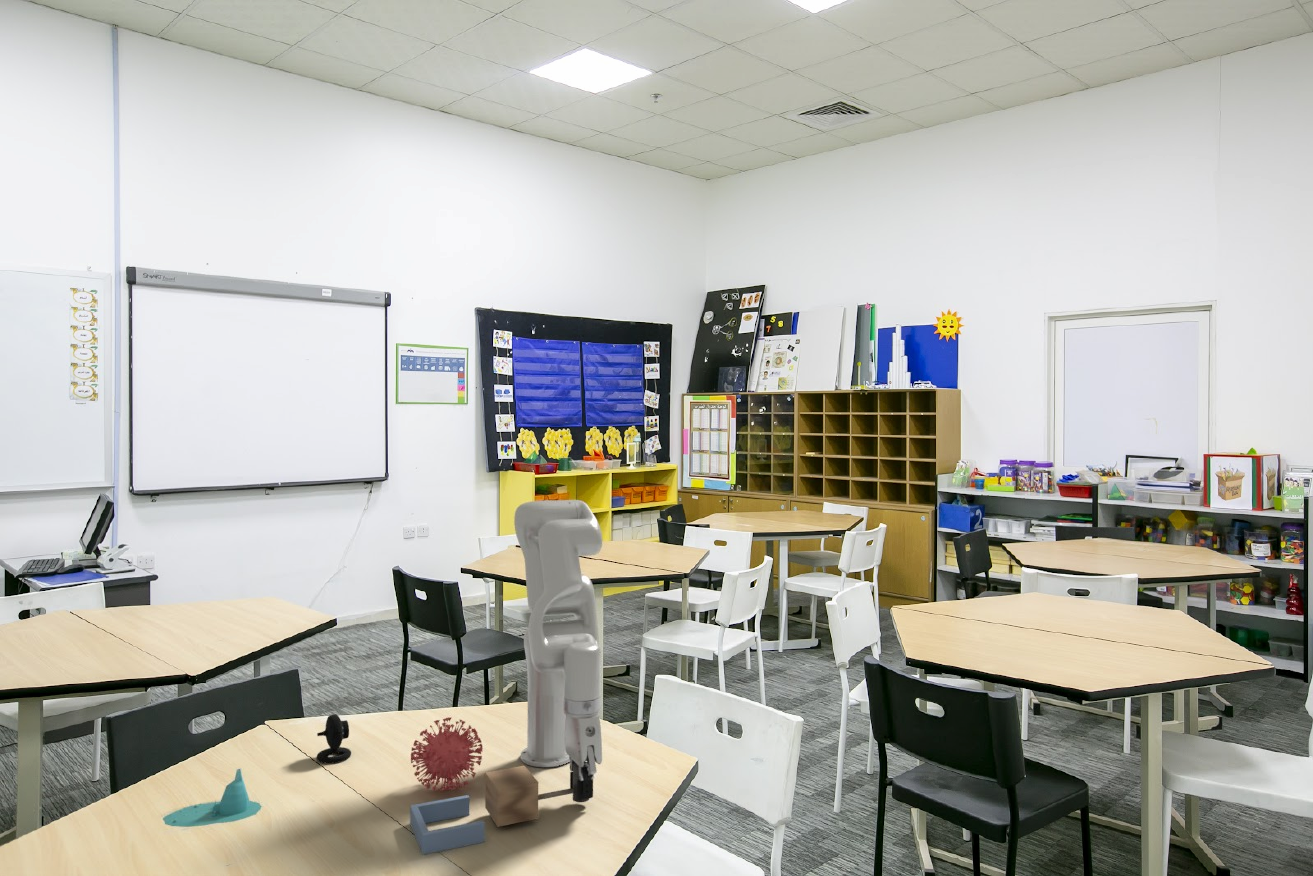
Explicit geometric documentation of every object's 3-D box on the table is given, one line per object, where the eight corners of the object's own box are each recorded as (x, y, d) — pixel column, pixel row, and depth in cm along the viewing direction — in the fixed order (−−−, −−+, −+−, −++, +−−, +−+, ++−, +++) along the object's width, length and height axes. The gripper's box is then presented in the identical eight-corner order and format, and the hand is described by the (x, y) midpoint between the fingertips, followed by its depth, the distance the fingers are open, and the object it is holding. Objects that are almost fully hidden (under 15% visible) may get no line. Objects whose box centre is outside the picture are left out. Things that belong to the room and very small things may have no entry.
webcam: (354, 760, 194) (355, 716, 194) (321, 767, 190) (321, 722, 190) (346, 749, 201) (346, 707, 201) (313, 756, 197) (313, 713, 197)
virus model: (495, 780, 183) (495, 712, 183) (457, 809, 169) (457, 735, 169) (436, 771, 188) (437, 705, 188) (395, 798, 174) (396, 726, 174)
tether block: (497, 826, 159) (497, 790, 159) (485, 807, 167) (485, 772, 167) (597, 806, 168) (597, 771, 168) (580, 788, 176) (581, 755, 176)
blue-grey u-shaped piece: (422, 854, 151) (422, 835, 151) (410, 823, 163) (410, 805, 163) (484, 842, 155) (484, 823, 155) (467, 812, 168) (468, 795, 168)
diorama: (165, 807, 170) (165, 765, 170) (272, 796, 175) (272, 755, 175) (145, 835, 158) (146, 789, 158) (261, 822, 164) (261, 778, 164)
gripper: (614, 714, 165) (614, 807, 165) (584, 691, 180) (584, 776, 180) (578, 720, 162) (578, 815, 162) (551, 695, 177) (550, 782, 177)
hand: (581, 793), depth 171 cm, fingers closed on tether block, 3 cm apart
